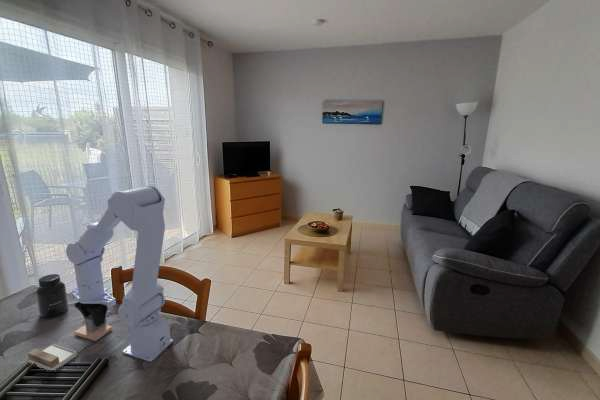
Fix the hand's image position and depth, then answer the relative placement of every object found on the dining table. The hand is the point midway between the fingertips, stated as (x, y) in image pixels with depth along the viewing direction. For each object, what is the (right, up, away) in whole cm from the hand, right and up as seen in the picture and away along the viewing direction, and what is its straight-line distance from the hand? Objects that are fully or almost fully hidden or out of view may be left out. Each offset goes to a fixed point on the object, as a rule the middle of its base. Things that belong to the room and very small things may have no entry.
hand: (96, 323), depth 79 cm
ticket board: (-3, -5, -10) cm, 12 cm away
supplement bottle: (-19, 0, +8) cm, 20 cm away
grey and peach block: (0, -2, 0) cm, 2 cm away
